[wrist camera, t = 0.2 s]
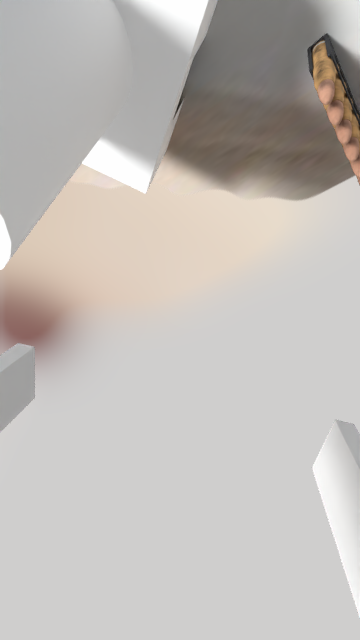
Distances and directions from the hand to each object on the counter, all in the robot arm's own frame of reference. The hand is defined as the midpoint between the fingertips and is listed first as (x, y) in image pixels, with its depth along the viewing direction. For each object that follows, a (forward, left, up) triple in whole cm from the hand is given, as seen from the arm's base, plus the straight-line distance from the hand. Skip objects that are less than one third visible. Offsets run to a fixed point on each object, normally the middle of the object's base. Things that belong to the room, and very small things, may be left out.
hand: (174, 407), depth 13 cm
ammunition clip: (+4, +9, -36) cm, 37 cm away
